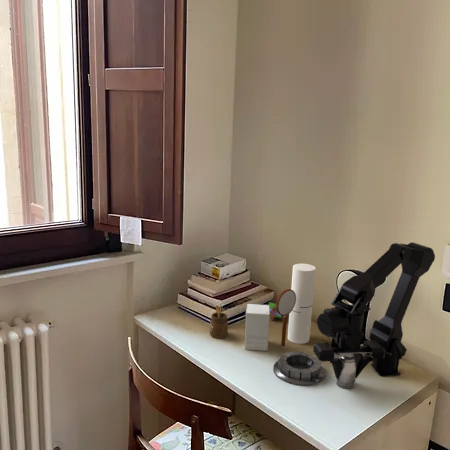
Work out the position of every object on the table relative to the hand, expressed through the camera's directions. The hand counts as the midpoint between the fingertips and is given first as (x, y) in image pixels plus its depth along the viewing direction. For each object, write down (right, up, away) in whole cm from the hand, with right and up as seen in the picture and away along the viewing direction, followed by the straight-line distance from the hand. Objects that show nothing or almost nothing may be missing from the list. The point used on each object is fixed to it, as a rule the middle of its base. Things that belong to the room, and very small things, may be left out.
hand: (346, 377), depth 144 cm
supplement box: (-24, +4, +21) cm, 32 cm away
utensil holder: (-36, +6, +27) cm, 45 cm away
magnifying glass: (-16, +3, +19) cm, 25 cm away
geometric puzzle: (-16, +9, +41) cm, 45 cm away
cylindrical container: (-10, +5, +26) cm, 29 cm away
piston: (0, -2, 0) cm, 2 cm away
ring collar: (-12, 0, +6) cm, 14 cm away
